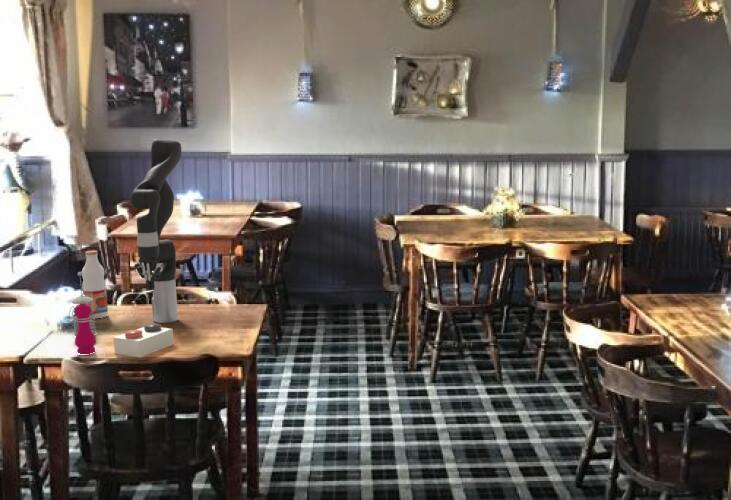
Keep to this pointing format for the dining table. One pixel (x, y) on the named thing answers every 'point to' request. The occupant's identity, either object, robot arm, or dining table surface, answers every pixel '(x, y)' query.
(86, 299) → the french press
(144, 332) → the control box
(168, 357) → the dining table surface
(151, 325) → the dark grey knob
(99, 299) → the fruit juice
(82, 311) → the pepper mill
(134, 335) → the red button
